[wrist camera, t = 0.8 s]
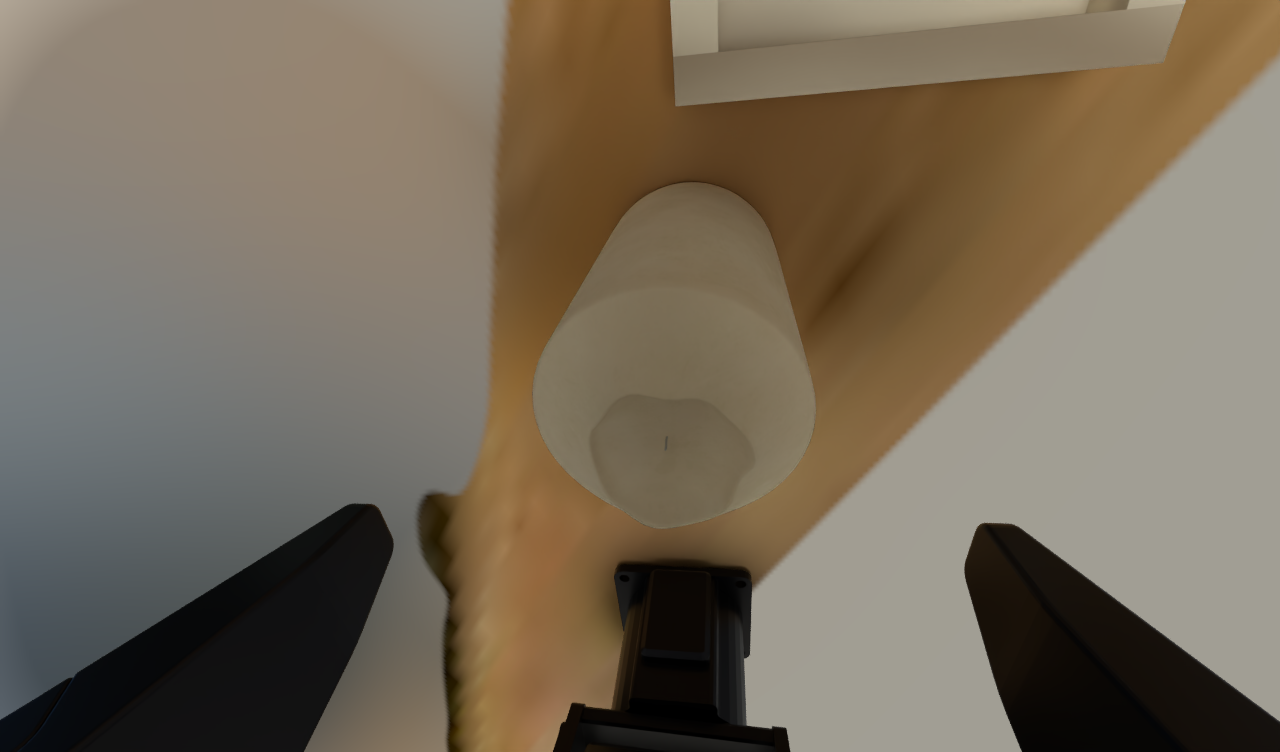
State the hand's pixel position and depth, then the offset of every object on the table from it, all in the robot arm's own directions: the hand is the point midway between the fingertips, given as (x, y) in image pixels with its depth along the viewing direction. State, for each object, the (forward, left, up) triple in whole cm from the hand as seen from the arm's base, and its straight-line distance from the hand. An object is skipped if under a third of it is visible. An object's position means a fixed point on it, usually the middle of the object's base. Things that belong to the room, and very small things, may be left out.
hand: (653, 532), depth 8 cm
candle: (0, 0, -12) cm, 12 cm away
